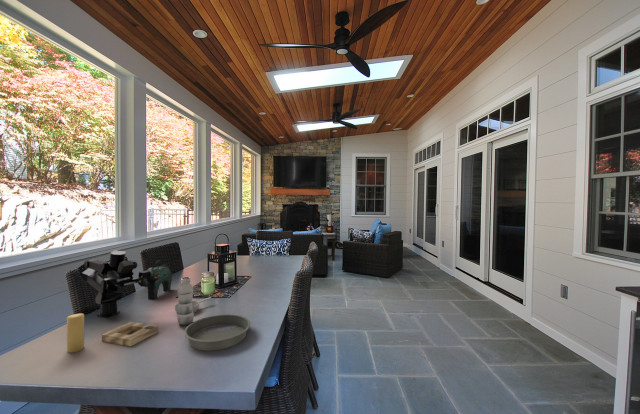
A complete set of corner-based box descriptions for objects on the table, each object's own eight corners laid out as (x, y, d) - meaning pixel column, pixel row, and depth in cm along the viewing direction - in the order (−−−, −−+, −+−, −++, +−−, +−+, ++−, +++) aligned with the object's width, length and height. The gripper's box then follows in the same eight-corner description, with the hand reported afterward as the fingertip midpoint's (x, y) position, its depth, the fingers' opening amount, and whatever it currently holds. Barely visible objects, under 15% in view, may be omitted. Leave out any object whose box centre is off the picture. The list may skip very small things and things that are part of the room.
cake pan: (263, 332, 116) (263, 321, 116) (213, 361, 94) (213, 347, 94) (222, 319, 128) (222, 309, 128) (170, 342, 107) (170, 330, 107)
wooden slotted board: (101, 341, 107) (101, 334, 107) (130, 327, 118) (130, 321, 118) (130, 346, 103) (130, 339, 103) (157, 332, 114) (157, 325, 114)
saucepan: (170, 312, 135) (170, 304, 135) (205, 302, 150) (205, 295, 150) (181, 318, 129) (181, 309, 129) (216, 306, 143) (216, 299, 143)
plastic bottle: (197, 321, 125) (197, 276, 125) (185, 327, 119) (185, 280, 118) (185, 319, 127) (185, 275, 127) (173, 325, 121) (173, 279, 120)
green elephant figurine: (154, 300, 151) (154, 263, 151) (142, 300, 151) (142, 263, 151) (173, 289, 171) (173, 256, 171) (163, 289, 171) (163, 256, 171)
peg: (63, 351, 99) (63, 317, 99) (78, 345, 104) (78, 312, 103) (73, 353, 98) (73, 319, 98) (87, 346, 102) (87, 314, 102)
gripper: (96, 262, 118) (113, 275, 110) (142, 255, 134) (161, 266, 126) (93, 287, 119) (110, 301, 111) (140, 277, 135) (158, 289, 127)
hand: (136, 288), depth 119 cm, fingers open, 9 cm apart
